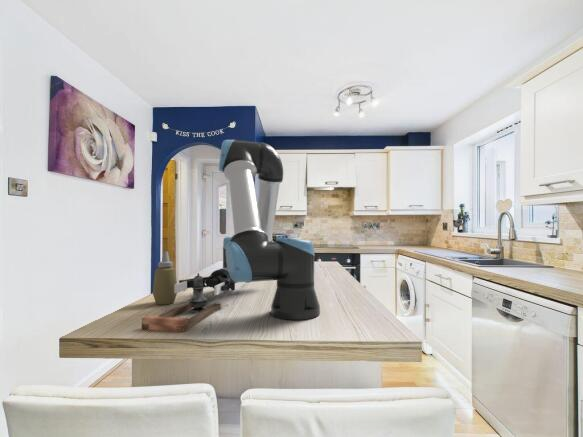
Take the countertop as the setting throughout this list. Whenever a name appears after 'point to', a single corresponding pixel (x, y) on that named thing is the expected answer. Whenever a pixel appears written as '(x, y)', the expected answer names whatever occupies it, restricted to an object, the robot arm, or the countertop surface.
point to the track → (176, 319)
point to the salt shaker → (197, 295)
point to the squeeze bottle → (164, 282)
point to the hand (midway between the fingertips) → (195, 289)
